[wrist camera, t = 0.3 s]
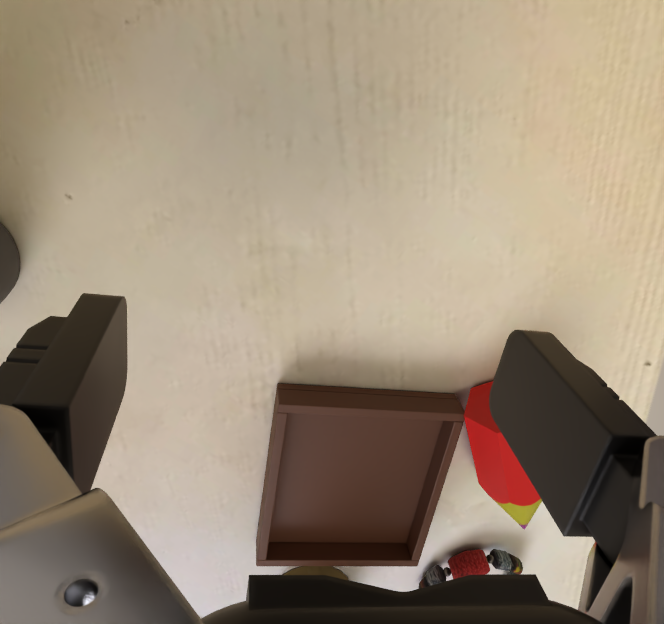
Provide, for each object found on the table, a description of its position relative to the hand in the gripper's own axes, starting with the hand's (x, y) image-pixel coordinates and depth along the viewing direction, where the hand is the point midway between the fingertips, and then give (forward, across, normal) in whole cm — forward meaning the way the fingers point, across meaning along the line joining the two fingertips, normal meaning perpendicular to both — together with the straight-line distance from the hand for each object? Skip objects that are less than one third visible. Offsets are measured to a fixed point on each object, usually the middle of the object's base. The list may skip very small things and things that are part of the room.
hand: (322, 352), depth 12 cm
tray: (+18, -7, +19) cm, 27 cm away
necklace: (+18, -19, +31) cm, 41 cm away
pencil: (+18, -17, +17) cm, 30 cm away
